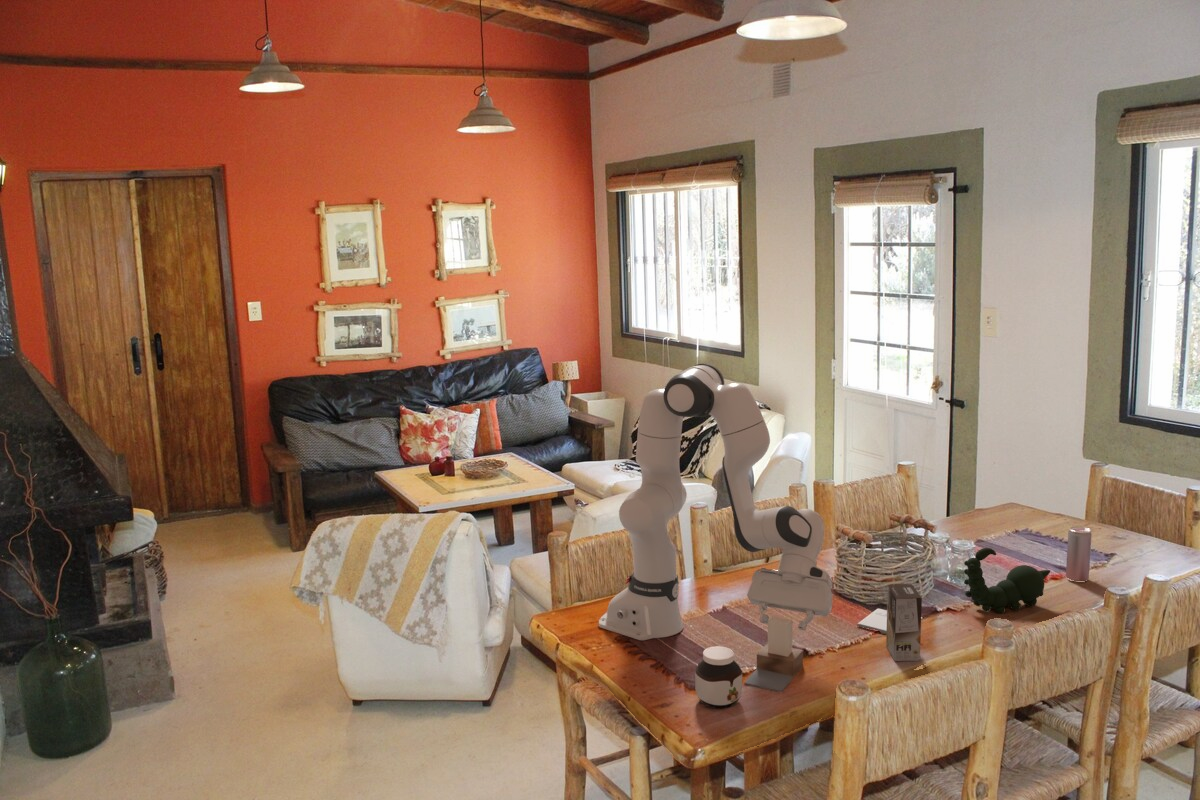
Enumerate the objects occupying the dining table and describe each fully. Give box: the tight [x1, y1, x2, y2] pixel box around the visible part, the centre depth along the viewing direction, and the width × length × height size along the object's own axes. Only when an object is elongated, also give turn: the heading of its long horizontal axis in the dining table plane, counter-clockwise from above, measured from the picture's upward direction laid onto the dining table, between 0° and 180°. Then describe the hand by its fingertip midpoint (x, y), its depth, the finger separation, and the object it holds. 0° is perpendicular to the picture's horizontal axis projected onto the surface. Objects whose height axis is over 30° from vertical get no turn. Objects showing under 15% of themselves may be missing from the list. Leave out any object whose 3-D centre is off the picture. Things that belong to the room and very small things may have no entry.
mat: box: [743, 668, 794, 693], centre depth 236 cm, size 9×8×1 cm
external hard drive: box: [856, 608, 887, 635], centre depth 266 cm, size 2×8×12 cm
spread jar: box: [694, 645, 743, 710], centre depth 228 cm, size 12×11×12 cm
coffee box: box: [885, 583, 923, 662], centre depth 247 cm, size 9×6×16 cm
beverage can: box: [1065, 525, 1093, 581], centre depth 289 cm, size 6×6×15 cm
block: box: [767, 616, 793, 657], centre depth 241 cm, size 5×3×8 cm, turn 61°
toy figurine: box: [963, 547, 1051, 614], centre depth 271 cm, size 9×19×25 cm
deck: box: [756, 642, 804, 678], centre depth 242 cm, size 9×7×4 cm
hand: (782, 625), depth 241 cm, fingers open, 8 cm apart
